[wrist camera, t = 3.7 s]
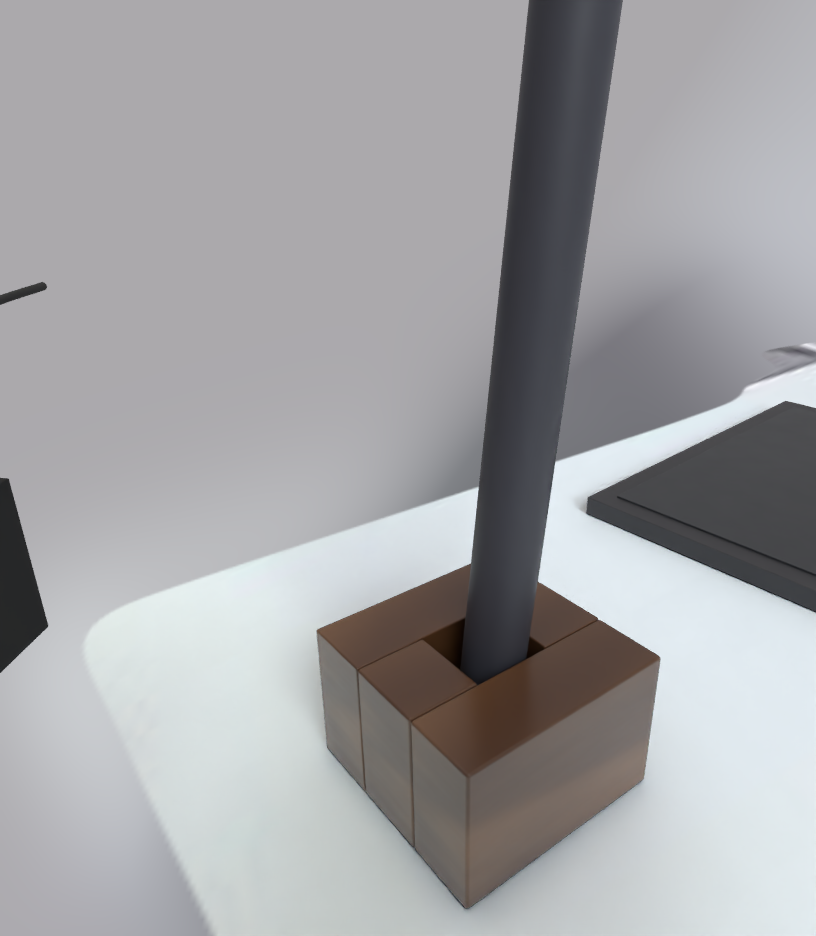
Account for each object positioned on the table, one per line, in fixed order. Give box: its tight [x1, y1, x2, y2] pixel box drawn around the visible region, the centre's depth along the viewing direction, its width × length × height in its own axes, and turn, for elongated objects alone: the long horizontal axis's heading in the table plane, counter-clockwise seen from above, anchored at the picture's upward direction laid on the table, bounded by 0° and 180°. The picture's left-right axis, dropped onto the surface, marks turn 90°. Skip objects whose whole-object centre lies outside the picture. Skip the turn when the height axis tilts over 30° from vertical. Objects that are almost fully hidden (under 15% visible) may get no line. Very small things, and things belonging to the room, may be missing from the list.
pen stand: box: [317, 564, 660, 909], centre depth 22 cm, size 7×7×4 cm
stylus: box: [460, 0, 623, 685], centre depth 19 cm, size 2×2×20 cm
